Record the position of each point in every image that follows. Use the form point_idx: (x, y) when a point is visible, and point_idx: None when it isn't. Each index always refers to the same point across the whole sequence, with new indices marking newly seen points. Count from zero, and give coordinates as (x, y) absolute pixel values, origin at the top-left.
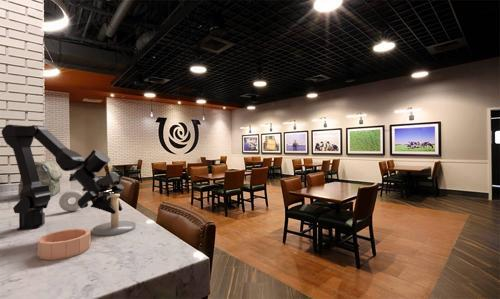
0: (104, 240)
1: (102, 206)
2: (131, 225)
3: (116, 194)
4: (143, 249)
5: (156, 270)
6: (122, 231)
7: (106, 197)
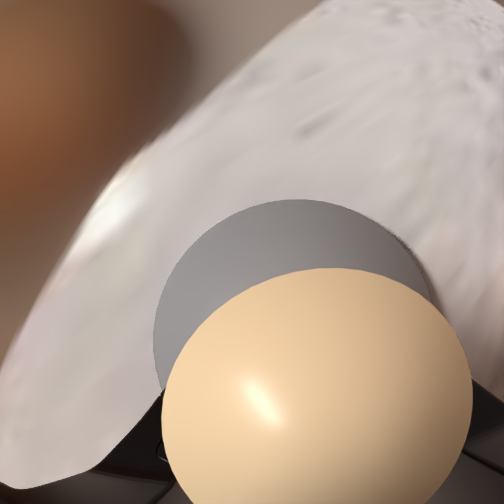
0: (472, 247)
1: None
2: (247, 235)
3: (300, 388)
4: (454, 47)
5: (493, 8)
6: (365, 219)
7: (499, 454)
